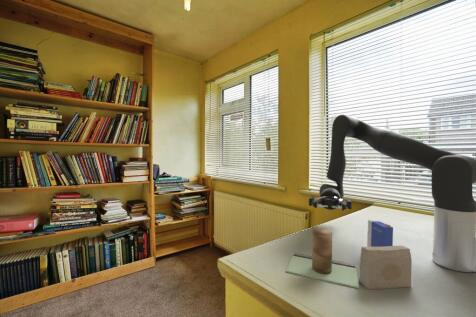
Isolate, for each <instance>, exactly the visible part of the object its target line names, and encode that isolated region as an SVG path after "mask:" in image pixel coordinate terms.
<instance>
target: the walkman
mask: <svg viewBox="0 0 476 317" xmlns="http://www.w3.org/2000/svg"><path fill="white" fill-rule="evenodd" d="M366 239H367V240H366V241H367V242H366V247H385V246H394V245H393V244H394V242H393V241H394V227H393V226H391V224H389V223H384V222H382V221H380V220H377V219H367V238H366Z"/></svg>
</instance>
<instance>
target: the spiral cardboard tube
mask: <svg viewBox="0 0 476 317" xmlns="http://www.w3.org/2000/svg"><path fill="white" fill-rule="evenodd" d="M311 251H312V253H311V254H312V255H311V256H312V259H311V260H312V269H313V270H314V271H315V272H317V273H320V274H330V273H331V272H332V264H333V263H332V260H333V231H332V230H331V229H328V228H323V227H316V228H313V229H312V250H311Z"/></svg>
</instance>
